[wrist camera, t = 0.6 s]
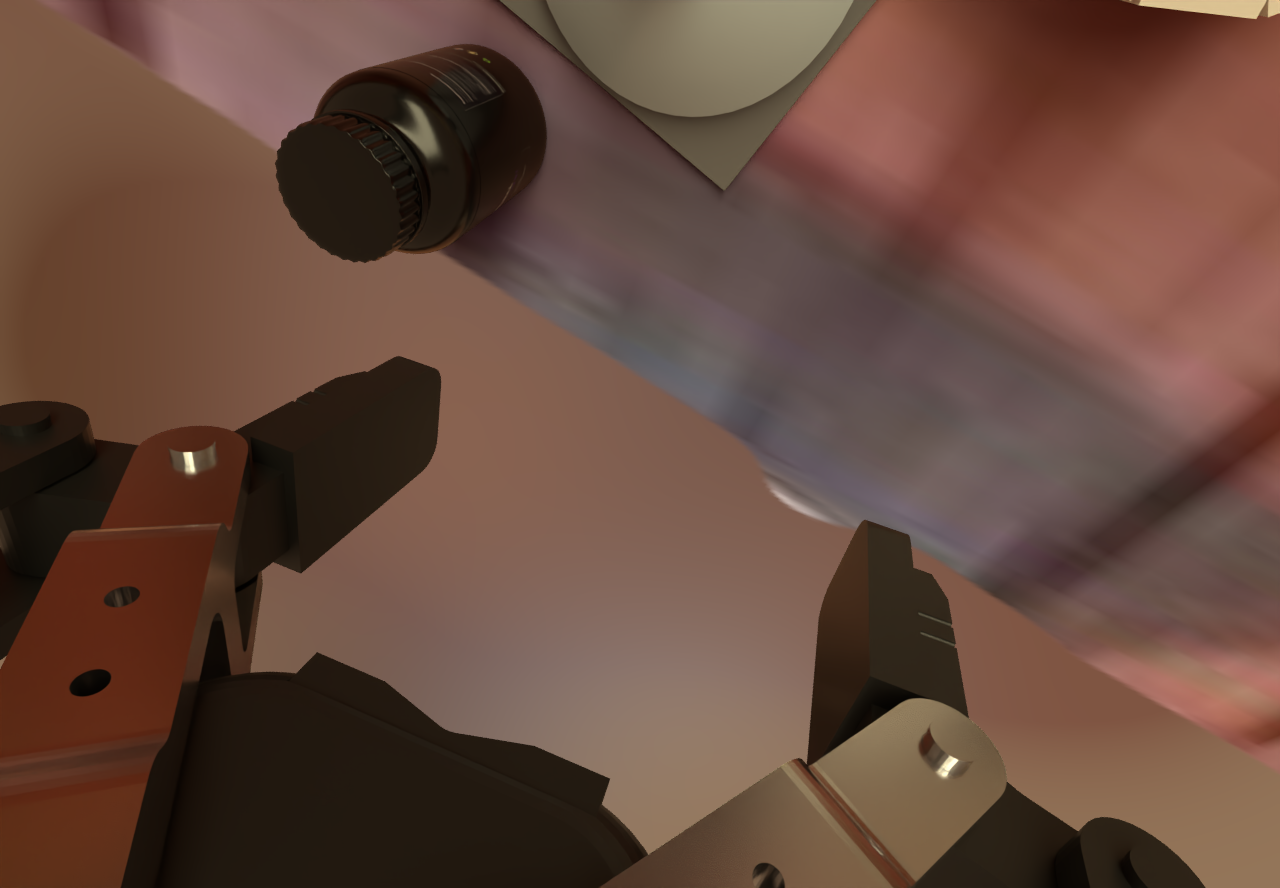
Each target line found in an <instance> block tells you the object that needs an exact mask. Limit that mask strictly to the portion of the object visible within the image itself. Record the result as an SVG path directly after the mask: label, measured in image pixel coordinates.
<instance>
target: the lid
mask: <svg viewBox="0 0 1280 888" xmlns="http://www.w3.org/2000/svg"><path fill="white" fill-rule="evenodd" d="M546 1H547V3H548V6H549V9H550V11H551V13H552V15H553V17H554V19H555V21H556V23H557V25H558V27H559V29H560V31H561V32H562V34H563V35H564V37H565V39H566V40H567V42H568V43H569V45H570V46H571V48H572V49H573V51H574V52H575V53H576V54H577V56H578V57H579V58H580V59H581V61H582V62H583V63H584V64H585V66H586V67H587V68H588V69H589V70H590V71H591V72H592V73H593V74H594V75H596V76H597V77H598V78H599V79H600V80H601V81H602V82H603V83H604V84H606V85H607V86H608V87H610V88H611V89H612V90H614V91H615V92H616V93H618V94H619V95H621V96H623V97H625V98H626V99H628V100H630V101H632V102H634V103H635V104H637V105H640V106H643V107H645V108H648V109H650V110H653V111H656V112H661V113H665V114H669V115H674V116H686V117H702V116H714V115H719V114H724V113H729V112H733V111H736V110H739V109H741V108H744V107H747V106H750V105H752V104H754V103H756V102H758V101H760V100H762V99H764V98H766V97H768V96H770V95H771V94H773V93H774V92H776V91H777V90H779V89H780V88H782V87H783V86H784V85H786V84H787V83H789V82H790V81H791V80H793V79H794V78H795V77H796V76H797V75H798V74H799V73H800V72H801V71H802V70H804V69H805V68H806V67H807V66H808V65H809V64H810V63H811V62H812V61H813V59H814V58H815V57H816V56H817V55H818V54H819V53H820V51H821V50H822V49H823V48H824V47H825V46H826V44H827V43H828V41H829V40H830V39H831V37H832V36H833V34H834V33H835V31H836V30H837V29H838V27H839V26H840V24H841V23H842V21H843V19H844V17H845V15H846V13H847V12H848V10H849V8H850V6H851V4H852V2H853V1H854V0H546Z"/></svg>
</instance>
